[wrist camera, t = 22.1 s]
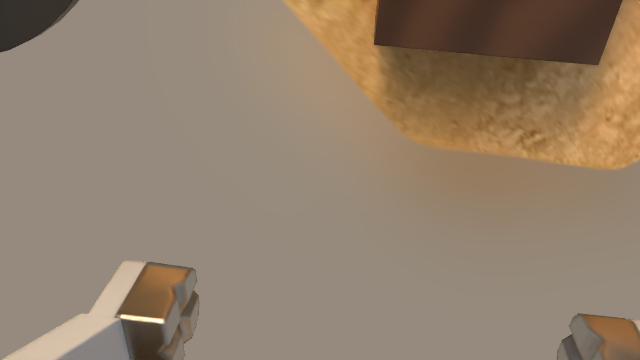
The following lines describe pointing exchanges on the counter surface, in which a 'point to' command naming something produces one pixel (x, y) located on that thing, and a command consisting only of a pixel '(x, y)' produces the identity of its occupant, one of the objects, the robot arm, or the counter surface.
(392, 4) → the wooden footed stand
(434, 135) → the counter surface
